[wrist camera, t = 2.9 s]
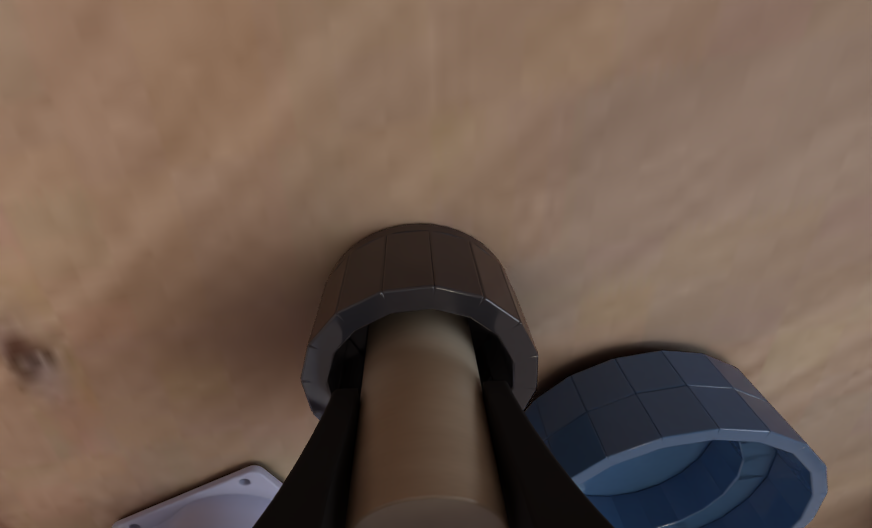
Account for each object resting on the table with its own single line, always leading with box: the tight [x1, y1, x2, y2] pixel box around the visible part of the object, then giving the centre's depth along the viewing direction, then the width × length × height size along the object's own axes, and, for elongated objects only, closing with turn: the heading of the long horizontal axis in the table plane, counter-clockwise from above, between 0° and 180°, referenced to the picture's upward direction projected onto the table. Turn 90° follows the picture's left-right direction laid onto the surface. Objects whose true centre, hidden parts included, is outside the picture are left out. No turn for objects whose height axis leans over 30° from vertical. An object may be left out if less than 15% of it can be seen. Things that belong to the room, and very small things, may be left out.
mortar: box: [301, 224, 538, 420], centre depth 15 cm, size 7×7×4 cm
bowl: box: [524, 350, 828, 528], centre depth 19 cm, size 12×12×4 cm
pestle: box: [345, 309, 509, 528], centre depth 13 cm, size 4×4×8 cm
